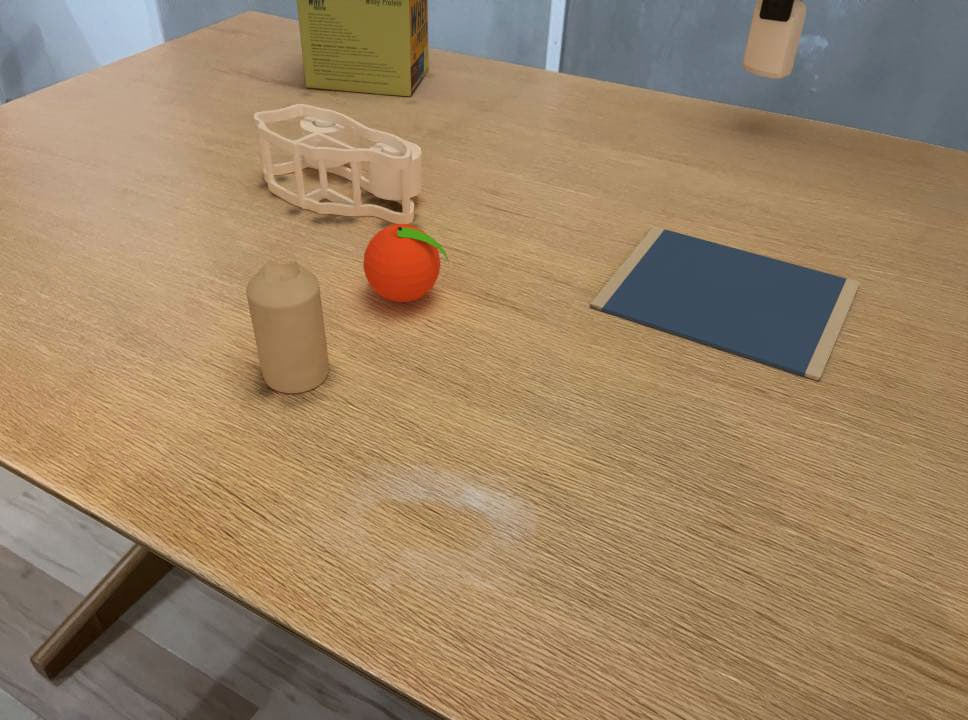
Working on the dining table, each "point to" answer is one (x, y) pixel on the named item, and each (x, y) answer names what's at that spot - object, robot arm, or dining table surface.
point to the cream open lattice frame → (342, 163)
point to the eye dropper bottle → (773, 43)
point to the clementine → (402, 262)
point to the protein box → (364, 44)
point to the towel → (731, 300)
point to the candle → (288, 327)
